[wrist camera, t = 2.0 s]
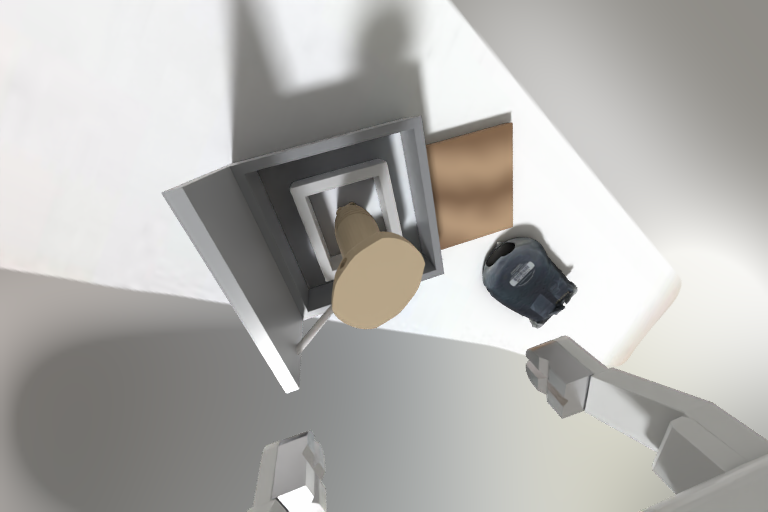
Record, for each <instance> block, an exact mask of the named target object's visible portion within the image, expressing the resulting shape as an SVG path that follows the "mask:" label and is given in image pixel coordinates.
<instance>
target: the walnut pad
mask: <svg viewBox="0 0 768 512" xmlns="http://www.w3.org/2000/svg"><path fill="white" fill-rule="evenodd" d="M426 152H427V159H428V166H429V172H430V179H431V186H432V193H433V200H434V207H435V214H436V221H437V228H438V235H439V242H440V249H441V250H442V249H445V248H448V247H452V246H455V245H458V244H461V243H464V242H467V241H470V240H473V239H477V238H480V237H483V236H486V235H489V234H492V233H495V232H498V231H501V230H505V229H508V228H511V227H513V123H504V124H500V125H497V126H493V127H489V128H486V129H482V130H479V131H475V132H471V133H468V134H464V135H461V136H457V137H453V138H450V139H446V140H443V141H439V142H435V143H432V144H428V145H426Z"/></svg>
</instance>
